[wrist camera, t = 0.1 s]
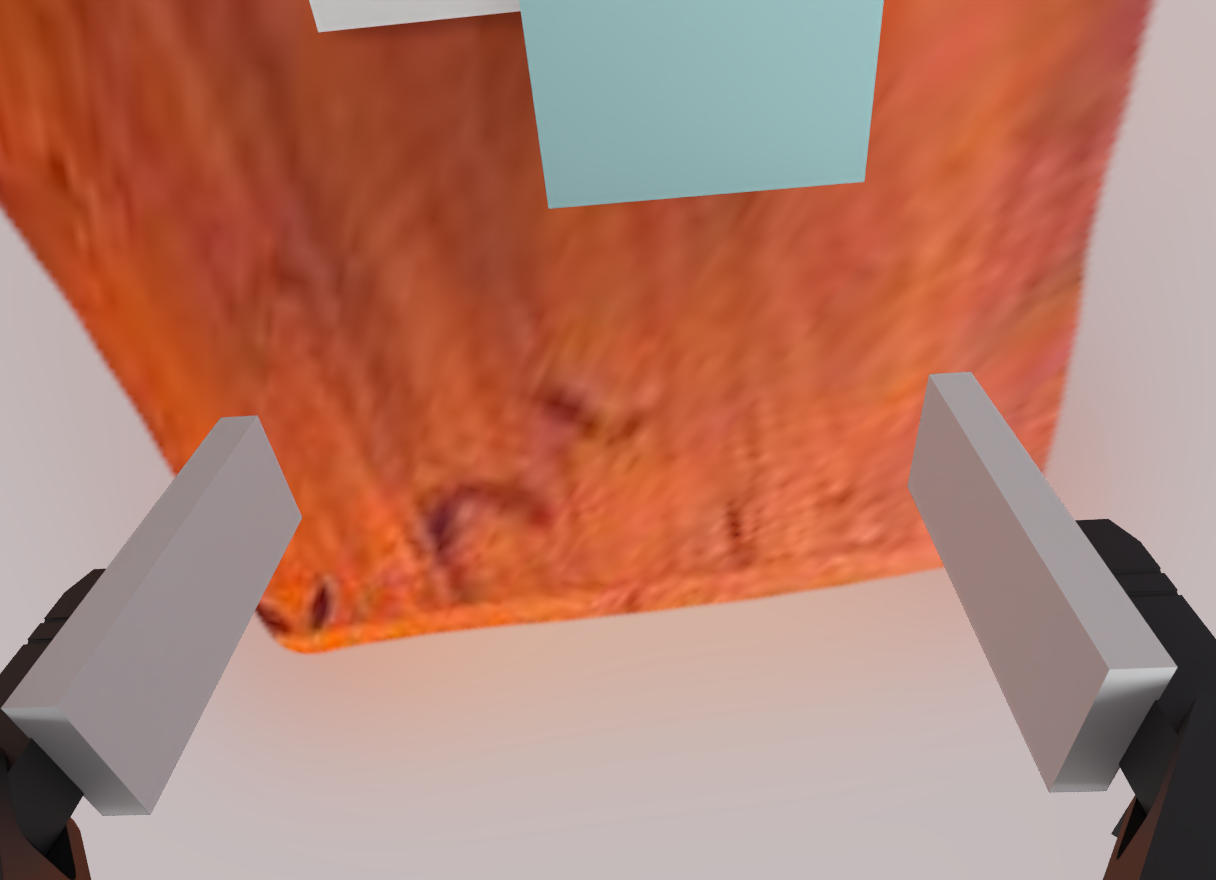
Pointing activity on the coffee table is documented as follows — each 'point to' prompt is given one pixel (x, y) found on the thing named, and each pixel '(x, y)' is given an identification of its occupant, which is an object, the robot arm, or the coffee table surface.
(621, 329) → the coffee table surface
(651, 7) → the station
